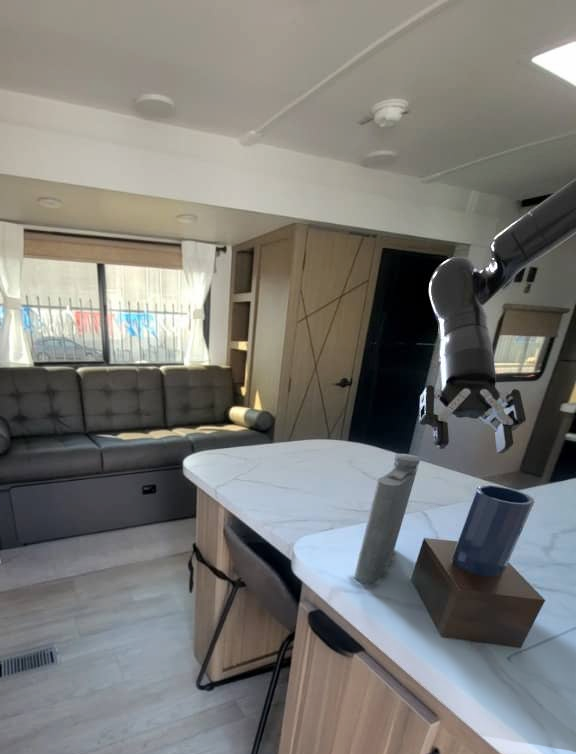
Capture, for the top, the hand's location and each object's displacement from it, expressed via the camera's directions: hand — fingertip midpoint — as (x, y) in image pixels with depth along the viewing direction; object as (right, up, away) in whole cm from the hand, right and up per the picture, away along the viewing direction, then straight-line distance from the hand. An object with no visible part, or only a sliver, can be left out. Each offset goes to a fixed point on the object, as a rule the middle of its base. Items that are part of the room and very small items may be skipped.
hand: (473, 448), depth 62 cm
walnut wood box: (-3, -25, -1) cm, 25 cm away
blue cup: (-3, -17, -4) cm, 18 cm away
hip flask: (-10, -19, +10) cm, 24 cm away
